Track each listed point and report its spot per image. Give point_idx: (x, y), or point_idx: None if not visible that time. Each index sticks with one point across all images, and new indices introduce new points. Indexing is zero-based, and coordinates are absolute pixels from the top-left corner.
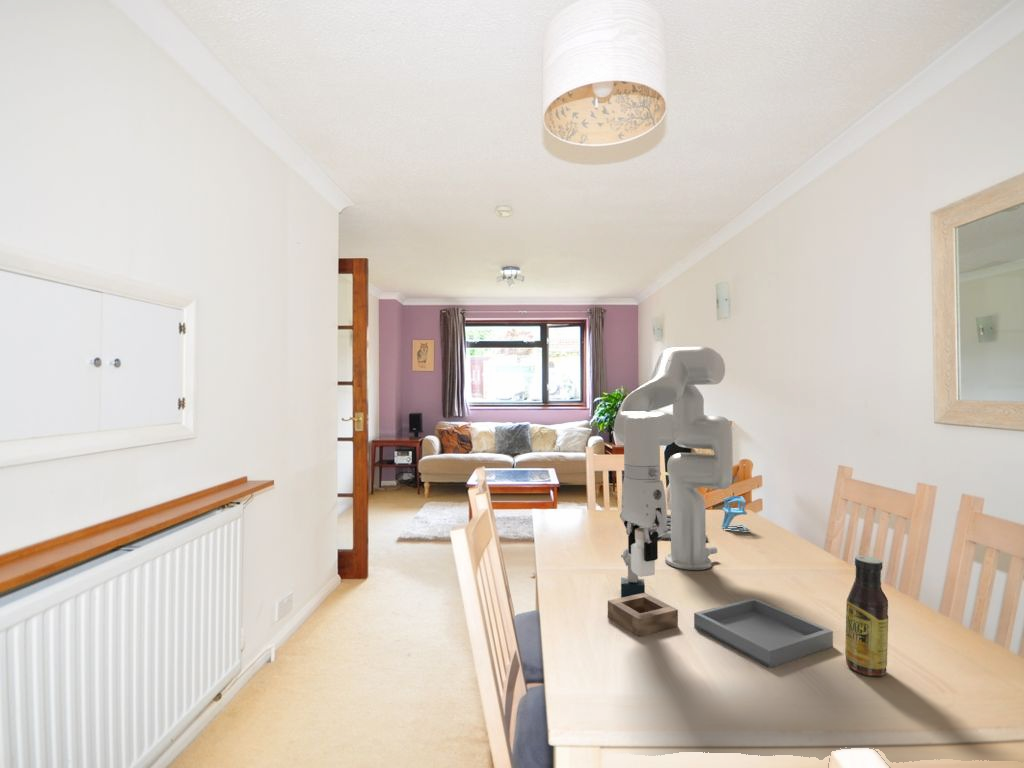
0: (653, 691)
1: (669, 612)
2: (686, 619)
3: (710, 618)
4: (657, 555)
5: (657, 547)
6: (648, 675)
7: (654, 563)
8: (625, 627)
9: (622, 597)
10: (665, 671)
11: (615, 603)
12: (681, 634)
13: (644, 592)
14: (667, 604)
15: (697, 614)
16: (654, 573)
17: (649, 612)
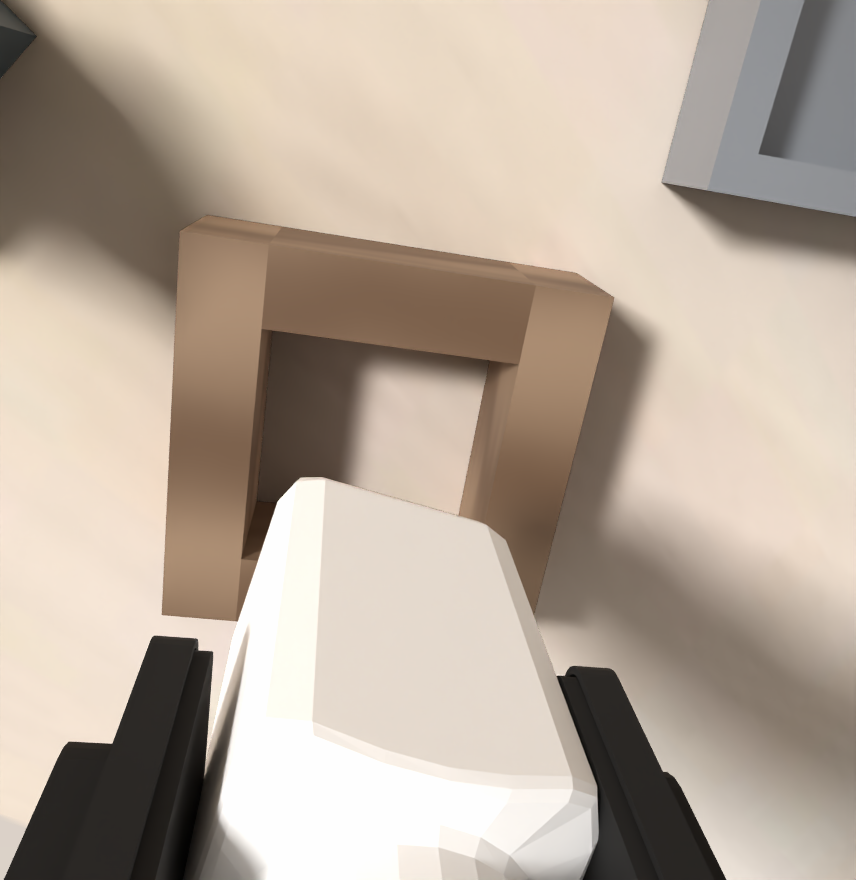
0: (833, 832)
1: (590, 385)
2: (548, 105)
3: (850, 171)
4: (629, 706)
5: (685, 823)
6: (760, 779)
7: (533, 619)
8: None
9: (170, 484)
10: (797, 708)
11: (238, 604)
12: (656, 350)
13: (10, 30)
14: (495, 283)
15: (740, 194)
16: (501, 539)
17: (503, 519)
